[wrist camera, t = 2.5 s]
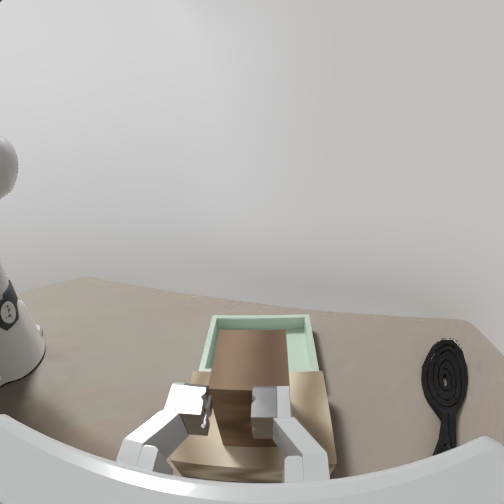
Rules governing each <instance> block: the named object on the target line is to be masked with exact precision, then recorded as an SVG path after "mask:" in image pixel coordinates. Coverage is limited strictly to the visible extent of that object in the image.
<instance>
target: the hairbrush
mask: <svg viewBox="0 0 504 504" xmlns="http://www.w3.org/2000/svg"><path fill="white" fill-rule="evenodd" d="M441 339H442V338H441ZM456 341H457V340H456ZM437 342H438V341H437ZM459 345H460V344H459ZM461 349H462V348H461ZM461 349H460V348H459V346H458V345H457V343H455V342H454V341H453V340H441V341H440V342H438V343H437V344H434V346H432V348H431V350H430V351H429V353H428V355H427V357H426V359H425V361H424V364H423V366H422V378H421V381H422V387H423V391H424V395H425V397H426V400H428V401H429V403H430V404H431V405H430V404H429V405H430V406H431V407H432V408H433V410H434V411H435V412H436V413H437V414H438V415H439V416H440V417H441V427H440V434H439V440H438V443H437V445H436V448H435V451H434V453H433V456H434V455H437V454H440V453H443V452H445V451H448V450H451V449H453V448H456V420H455V415H456V413H457V411H458V409H459V407H460V405H461V403H462V402H463V400H464V398H465V396H466V389H467V380H468V379H467V367H466V362H465V358H464V355H463V351H462V350H461ZM435 352H436V353H435ZM434 353H435V354H434ZM433 354H434V356H433ZM432 356H433V358H432ZM438 357H439V358H438ZM431 358H432V360H431ZM437 358H438V359H437ZM436 359H437V361H436ZM430 360H431V362H430ZM435 361H436V363H435ZM434 363H435V365H434ZM442 363H443V364H442ZM441 364H442V365H441ZM440 365H441V366H440ZM433 366H434V367H433ZM439 367H440V368H439ZM438 369H439V371H438ZM443 377H446V378H445V379H446V381H447V383H446V384H447V386H446V387H445V385H444V383H445V382H444V383H443V382H442V381H443ZM450 383H451V389H450ZM455 383H456V391H455ZM460 391H461V394H460ZM454 393H455V395H454ZM453 395H454V398H453V399H452V397H453ZM459 395H460V397H459ZM458 398H459V400H458ZM450 399H452V400H450ZM428 401H427V402H428ZM457 401H458V402H457ZM456 402H457V404H456V405H455V403H456ZM454 405H455V406H454ZM443 446H444V447H443ZM442 447H443V448H442Z"/></svg>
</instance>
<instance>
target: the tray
mask: <svg viewBox="0 0 504 504" xmlns="http://www.w3.org/2000/svg"><path fill="white" fill-rule="evenodd" d="M220 330H286V338H287V352H288V367H289V372H310V371H319V367H318V362H317V356H316V350H315V345H314V339H313V334H312V328H311V323H310V318H309V314H302V315H254V316H229V315H213V316H212V320H211V324H210V328H209V331H208V335H207V339H206V343H205V347H204V351H203V355H202V359H201V363H200V367H199V371H205V372H211V369H212V365H213V360H214V355H215V350H216V345H217V341H218V336H219V331H220Z"/></svg>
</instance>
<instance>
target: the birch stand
mask: <svg viewBox="0 0 504 504" xmlns="http://www.w3.org/2000/svg"><path fill="white" fill-rule="evenodd" d="M210 374H211V372H205V371H193V374H192V377H191V381H190V384H198V385H208V384H209V379H210ZM289 383H290V402H291V417H295V418H296V419H297V420H298V422H299V423H300V424H301V425H302V426H303V427H304V428H305V429H306V430H307V432H308V433H309V434H310V435H311V436H312V437H313V438H314V439H315V440H316V441H317V443H318V444H319V445H320V446H321V447H322V448H323V449H324V450H325V451H326V452H327V457H328V466H329V475H331V474H332V472H333V470H334V468H335V467H336V465H337V458H336V451H335V444H334V437H333V430H332V424H331V417H330V411H329V405H328V399H327V393H326V387H325V381H324V376H323V371H310V372H289ZM208 419H209V422H210V427H209V432H208V436H201V435H189V436H188V437H187V438H186V439H185V440H184V441H183V442H182V443H181V444H180V445H179V446H178V447H177V449H176V450H175V451H174V452H173V453H172V456H171V462H172V463H173V464H174V466H175V467H176V468H177V470H178V471H179V472H180V474H181V475H182V476H185V477H192V478H200V479H209V480H219V481H233V482H260V483H271V482H282V475H283V468H284V461H285V456H284V455H283V453H282V452H281V451H280V449H279V448H278V447H238V446H223V443H222V440H221V436H220V433H219V429H218V426H217V422H216V419H215V415H214V411H213V408H212V415H211V416H210V417H209V418H208Z"/></svg>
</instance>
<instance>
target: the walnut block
mask: <svg viewBox="0 0 504 504" xmlns="http://www.w3.org/2000/svg"><path fill="white" fill-rule="evenodd" d="M208 385H209V389H210V392H209V395H210V396H211V397H212V403H213V406H212V408H213V411H214V415H215V419H216V422H217V426H218V429H219V433H220V436H221V440H222V443H223V446H238V447H278V446H277V445H276V443H275V442H274V441H273V439H257V438H253V435H252V426H251V405H252V403H253V400H252V389H253V386H289V388H290V383H289V367H288V352H287V338H286V330H220V331H219V336H218V341H217V345H216V350H215V355H214V360H213V365H212V369H211V374H210V379H209V384H208Z"/></svg>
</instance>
